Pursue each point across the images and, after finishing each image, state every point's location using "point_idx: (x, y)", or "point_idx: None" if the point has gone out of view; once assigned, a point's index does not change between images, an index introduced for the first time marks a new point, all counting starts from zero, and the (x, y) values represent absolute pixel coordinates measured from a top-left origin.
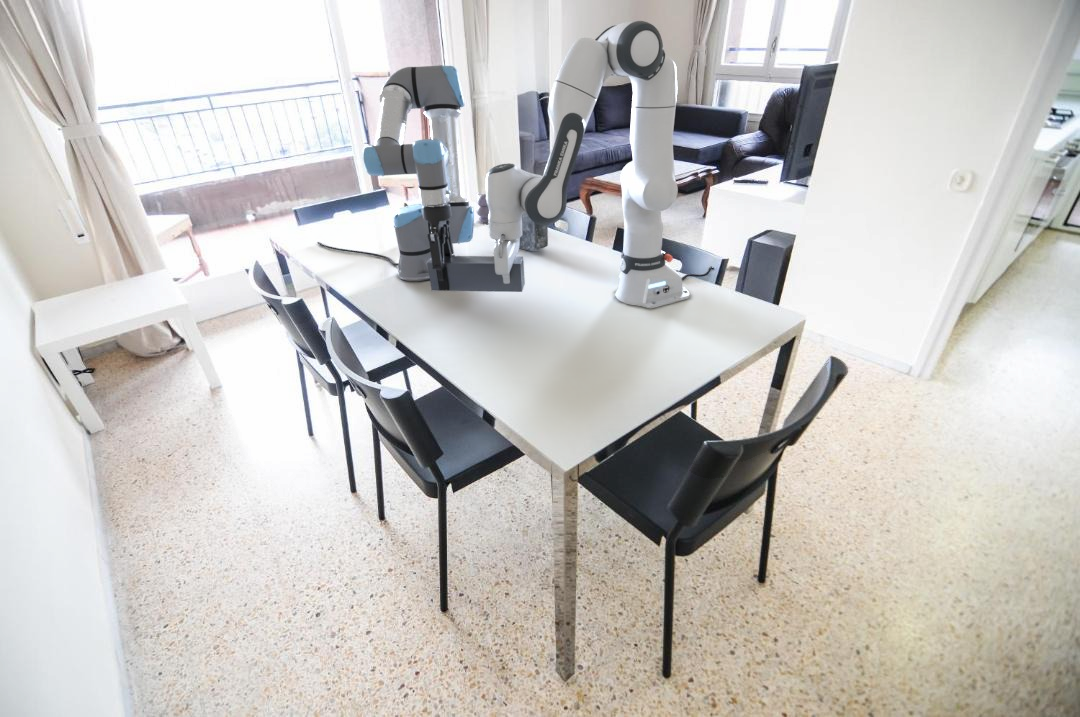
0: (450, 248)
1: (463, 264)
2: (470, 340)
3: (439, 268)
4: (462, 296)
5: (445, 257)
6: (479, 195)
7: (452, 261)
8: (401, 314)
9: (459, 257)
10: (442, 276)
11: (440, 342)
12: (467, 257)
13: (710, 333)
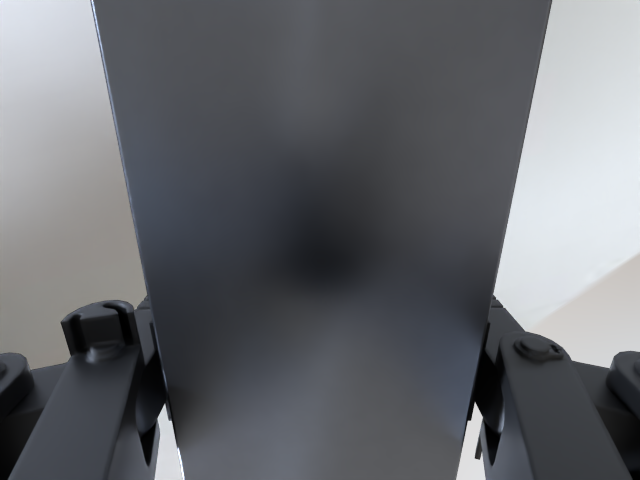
0: (21, 472)
1: (535, 45)
2: (613, 21)
3: None
4: (115, 189)
5: (237, 418)
6: None
7: (417, 284)
8: None
9: (206, 212)
10: (500, 307)
11: (598, 171)
12: (181, 34)
13: None
